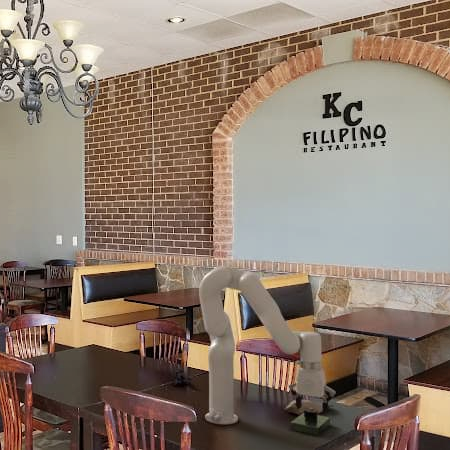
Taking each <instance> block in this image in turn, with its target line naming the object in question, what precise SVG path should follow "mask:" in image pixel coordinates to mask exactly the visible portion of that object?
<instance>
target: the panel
mask: <svg viewBox="0 0 450 450" xmlns="http://www.w3.org/2000/svg"><path fill="white" fill-rule="evenodd" d="M330 426H331V417H330V416H324V415H319V414H317V421H315V422H310V421H306V420H304V413H303V414H300V415H298V416H297V417H296V418H295V419H293V420H292V421H291V422H290V430H291V431H293V432H297V433H299V432H300V433H303V434H307V435H312V436H317V437H318V436H320V435H321V434H322V433H323V432H324V431H325V430H326V429H327V428H329V427H330Z"/></svg>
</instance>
